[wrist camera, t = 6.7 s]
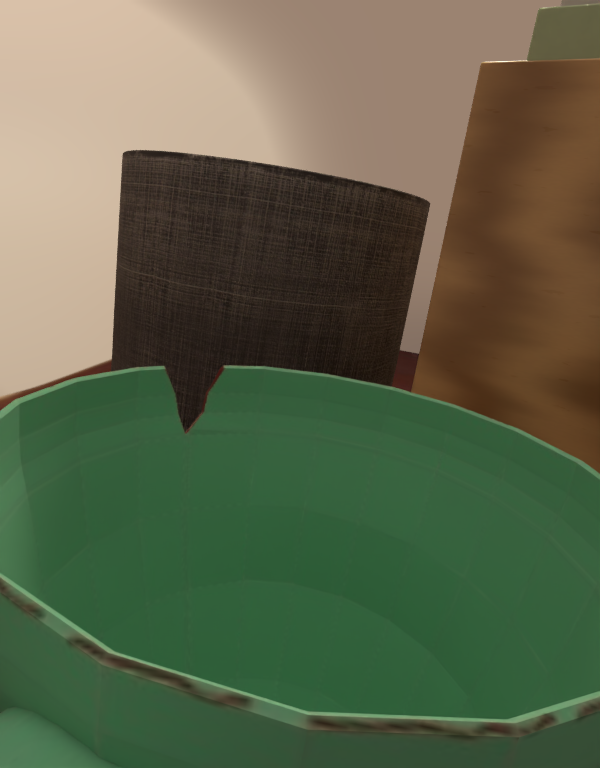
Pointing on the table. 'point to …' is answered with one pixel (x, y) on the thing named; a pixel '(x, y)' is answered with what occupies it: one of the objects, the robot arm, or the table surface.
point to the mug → (291, 580)
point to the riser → (524, 259)
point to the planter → (259, 271)
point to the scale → (567, 31)
